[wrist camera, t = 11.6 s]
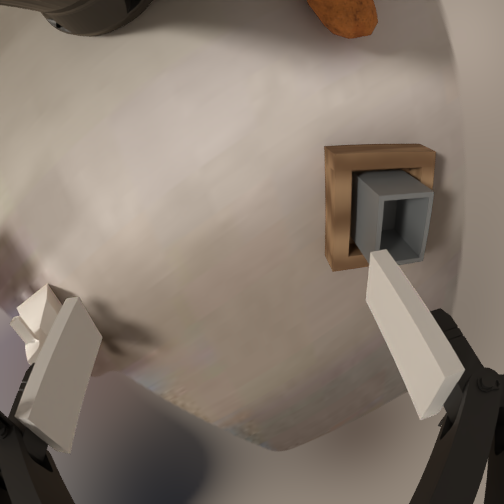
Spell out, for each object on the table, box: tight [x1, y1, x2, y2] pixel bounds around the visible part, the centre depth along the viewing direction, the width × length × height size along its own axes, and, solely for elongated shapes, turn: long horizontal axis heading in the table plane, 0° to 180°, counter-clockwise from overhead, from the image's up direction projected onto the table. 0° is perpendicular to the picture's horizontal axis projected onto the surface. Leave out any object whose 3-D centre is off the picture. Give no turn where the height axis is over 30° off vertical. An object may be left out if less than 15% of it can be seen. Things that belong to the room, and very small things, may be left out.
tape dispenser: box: [10, 283, 63, 365], centre depth 41 cm, size 8×14×14 cm, turn 16°
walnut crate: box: [324, 144, 436, 272], centre depth 38 cm, size 15×14×4 cm
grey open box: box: [350, 169, 434, 265], centre depth 36 cm, size 9×7×8 cm
